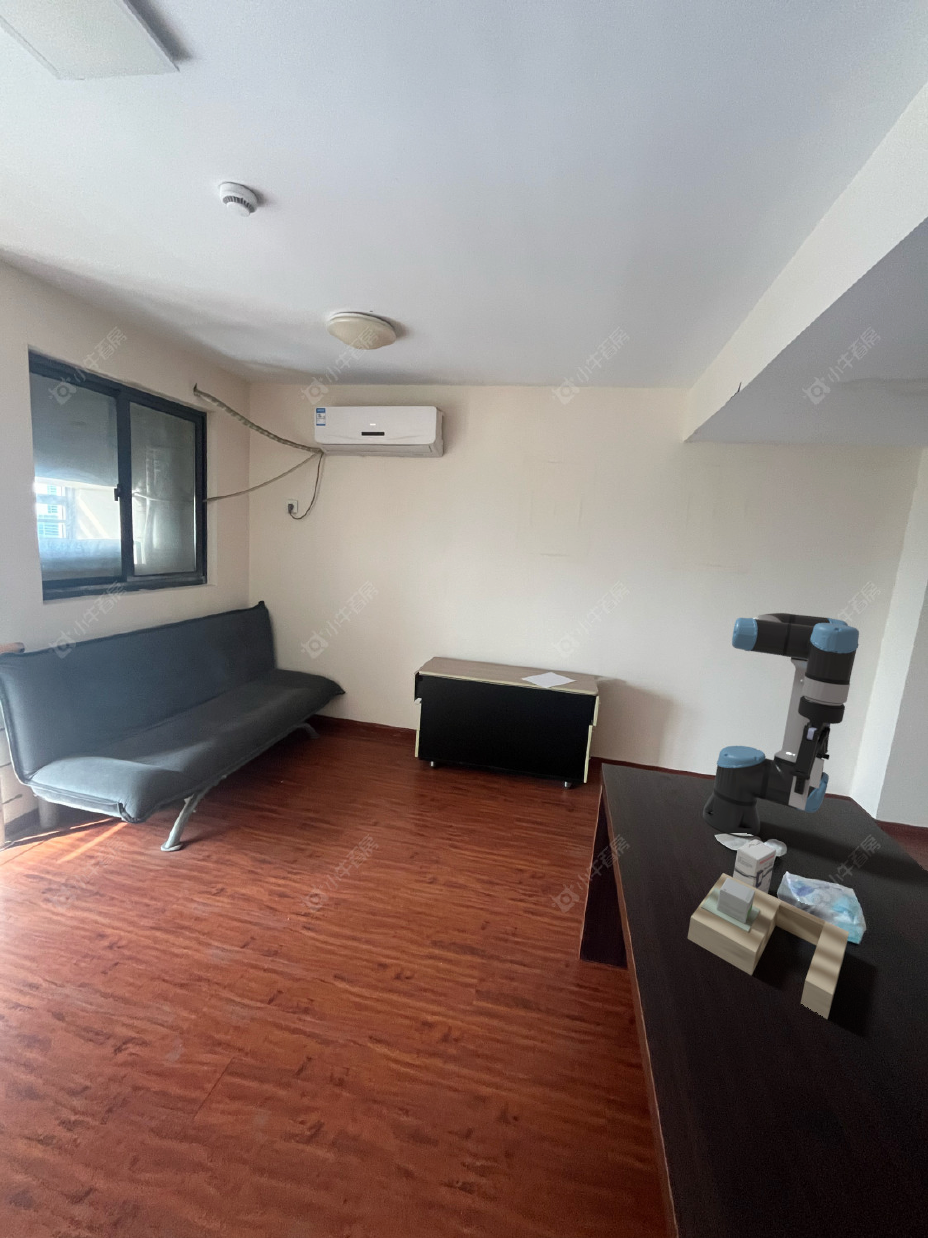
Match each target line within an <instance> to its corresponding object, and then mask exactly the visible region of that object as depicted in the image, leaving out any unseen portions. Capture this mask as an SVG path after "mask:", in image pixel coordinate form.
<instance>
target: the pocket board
mask: <svg viewBox="0 0 928 1238" xmlns="http://www.w3.org/2000/svg"><path fill="white" fill-rule="evenodd" d="M727 878H730V879H732V880H734V881H736V882H738V883H740V884H742V885H745V886H747V887H749V888H751V889H753V890H755V895H754V900H753V905H752V910H751V912H750V914H749V916H748V918H747V920H746V922H745V923H743V922H741V921H739V920H737V919H735V918H733V917H731V916H729V915H727V914H725V913H723V912H721V911H719V910H717V903H718V898H719V892H720V889H721V887H722V885H723V884H724V882H725V880H726V879H727ZM689 920H690V921H689V928H688V934H687V939H688V940H689V941H691V942H693V943H695V944H696V945H698V946H699V947H701V948H703V949H705V950H707V951H709V952H710V953H712V954H713V955H715V956H716V957H719V958H721V959H722V960H724V961H726V962H727V963H729V964H731V965H732V966H735V967H736V968H738V969H739V970H741V971H743V972H745V973H747V974H748V975H749V976H752V975H753V974H754V971H755V970H756V966H757V965H758V963H759V961H760V959H761V956H762V954H763V952H764V951H765V949H766V946H767V944H768V942H769V940H770V938H771V935H772V934H773V931H774V929H775V927H776V926H777V927H778V928H780V929H782V930H785V931H786V932H788V933H790V934H792V935H794V936H796V937H798V938H800V939H802V940H804V941H806V942H808V943H810V944H812V945H814V946H815V947H816V948H815V951H814V954H813V956H812V959H811V962H810V965H809V969H808V971H807V975H806V978H805V980H804V985H803V990H802V994H801V1000H800V1005H801V1004H803V1005H804V1006H803V1005H802V1006H803V1007H805V1008H807V1007H808V1008H809V1009H808V1008H807V1009H808V1010H810V1009H811V1010H810V1011H812V1012H814V1013H815V1012H817V1013H818V1014H817V1013H816V1014H817V1015H819V1016H820V1015H821V1017H822V1016H823V1017H822V1018H824V1019H826V1020H828V1018H829V1015H830V1010H831V1008H832V1007H831V1006H832V1005H833V1004H832V1003H833V1000H834V995H835V992H836V988H837V984H838V980H839V976H840V971H841V967H842V965H843V962H844V961H843V960H844V957H845V952H846V948H847V945H848V940H849V935H850V932H849V931H848V930H845V929H843V928H841V927H839V926H837V925H835V924H833V923H831V922H829V921H827V920H824V919H822V918H820V917H818V916H816V915H813V914H812V913H809V912H807V911H805V910H803V909H801V908H799V907H796V906H795V905H793V904H790V903H788V902H786V901H784V900H783V899H782V900H781V899H780V898H777V897H775V896H773V895H770V894H767V893H765V892H763V891H761V890H758V889H756V888H754V887H752V886H750V885H748V884H746V883H743V882H741V881H739V880H737V879H735V878H733V876H731V875H728V874H726V873H724V872H723V873H722V874H721V875H720V877H719V878H718V879H717V881H716V882H715V883H714V885H713V886H712V888H711V889H710V890H709V892H708V893H707V894H706V896H705V897H704V899H703V900H702V901H701V903H700V904H699V905H698V907H697V908H696V909H695V910H694V912H693V913H692V914H691V916H690V919H689Z"/></svg>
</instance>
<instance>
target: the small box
mask: <svg viewBox="0 0 928 1238" xmlns="http://www.w3.org/2000/svg"><path fill="white" fill-rule="evenodd" d="M754 895H755V890H753V889H751V888H749V887H747V886H745V885H742V884H740V883H738V882H736V881H734V880H732V879H730V878H727V879H726V880H725V882H724V884H723V885H722V887H721V889H720V892H719V898H718V903H717V910H719V911H721V912H723V913H725V914H727V915H729V916H731V917H733V918H735V919H737V920H739V921H741V922H743V923H745V922H746V920H747V918H748V916H749V914H750V912H751V910H752V905H753V900H754Z"/></svg>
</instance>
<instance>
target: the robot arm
mask: <svg viewBox="0 0 928 1238" xmlns="http://www.w3.org/2000/svg"><path fill="white" fill-rule="evenodd" d="M859 637H860V631H859V630H858V628H857V627H854V626H851V625H848V623H847V621H844V620H842V619H838V618H837V619H836V618H831V617H824V616H823V617H822V616H814V615H804V614H794V613H793V614H792V613H786V612H774V613H765V614H759V615H757V616H754V617H738V618H737V619H736V620H735V622H734V625H733V631H732V638H731V645H732V647H733V648H734V649H738V650H742V651H745V652H753V653H754V652H755V653H761V654H767V655H768V654H769V655H777V656H782V657H787V658H790V662H791V664H793V666H794V667H795V670H794V676H793V682H792V687H791V688H792V689H791V694H790V700H789V705H788V711H787V718H786V724H785V729H784V736H783V741H782V747H781V750H779V751H777V752H775V753H774V756H773V759H772V758H771V759H770V758H766V754H765V752H763V751H762V750H760V749H757V748H755V747H751V746H745V745H730V746H726V747H725V746H724V748H722V749H721V750H720V751H719V754H718V758H717V761H716V765H717V767H716V772H715V778H714V784H713V788H712V789H713V790H712V793H711V795H710V796H709V798H708V800H707V801H706V803H705V805H704V807H703V811H702V818H703V820H704V821H705V822H706V823H707V824H708V825H709V826H711V827H713V828H714V829H715V830H718V831H720V832H723V833H725V834H728V833H747V834H752V835H755V836H754V837H756V836H758V835H759V833H760V829H761V820H760V816H759V810H758V805H757V804H758V799H760V800H764V801H767V802H771V803H773V804H777V805H781V806H784V807H788V808H791V809H794V810H795V811H802V812H806V813H811V814H812V813H816V812H817V811H818V810H819V808H820V807H821V805H822V804H823V800H824V797H825V795H826V791H827V788H828V783H829V779H830V776H829V774H828V773H826V772H825V771H824V764H825V760H829V759H830V754H827V753H828V752H829V750H828V747H829V740H830V738H829V737H830V733H831V724H832V725H836V724H837V725H838V724H841V723H842V722H843V719H844V714H845V710H846V706H845V705H844V704H845V703H847V700H848V696H849V692H850V691H849V690H850V687H851V676H852V673H853V668H854V663H855V658H856V653H857V650H858V649H859V645H860V644H859Z"/></svg>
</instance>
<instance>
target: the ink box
mask: <svg viewBox="0 0 928 1238" xmlns="http://www.w3.org/2000/svg"><path fill="white" fill-rule="evenodd" d="M776 851H777V850H776V849H774V848H773V847H771V846H769V845H768V844H765V843H764V842H762V841H760V840H759V839H753V840H751V841H749V842H746V843H745V844H743V845H742V846H740V847H738V848H737V851H736V852H737V853H736V859H735V863H734V869H733V874H732V877H733V878H735V879H737V880H739V881H741V882H743V883H746V884H748V885H750V886H752V887H754V888H756V889H758V890H761V891H763V892H765V893H767V894H768V893H769V890H770V889H769V888H770V885H771V879H772V876H773V869H774V864H775V857H776Z"/></svg>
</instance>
